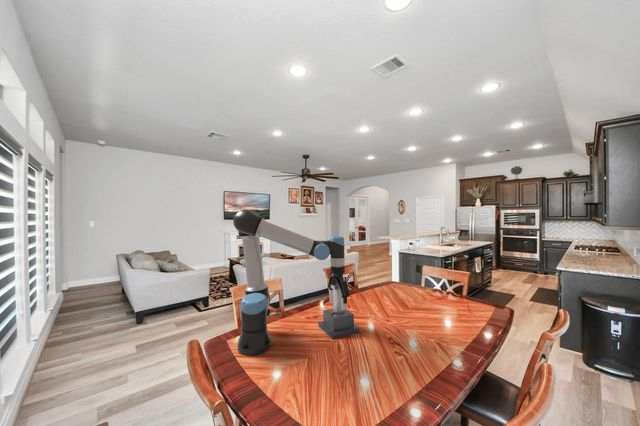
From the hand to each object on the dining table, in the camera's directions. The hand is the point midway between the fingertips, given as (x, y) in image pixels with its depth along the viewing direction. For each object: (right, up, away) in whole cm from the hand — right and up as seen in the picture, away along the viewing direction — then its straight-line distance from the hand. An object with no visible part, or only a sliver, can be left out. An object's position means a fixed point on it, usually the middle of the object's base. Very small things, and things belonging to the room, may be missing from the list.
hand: (338, 305), depth 141 cm
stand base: (0, -13, 0) cm, 13 cm away
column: (0, -13, 0) cm, 13 cm away
